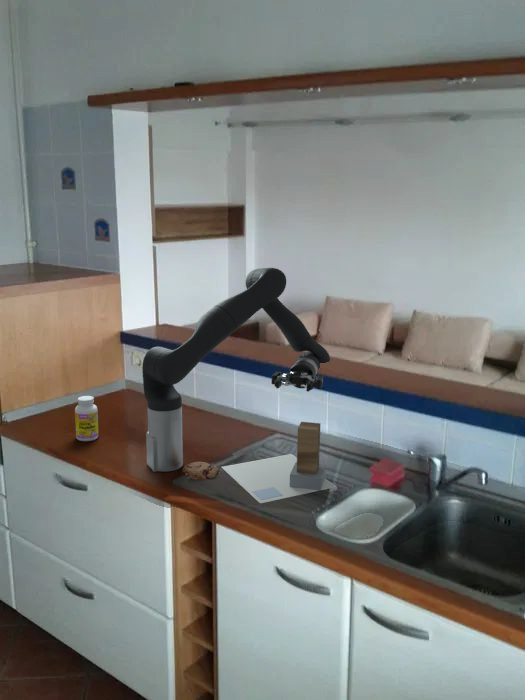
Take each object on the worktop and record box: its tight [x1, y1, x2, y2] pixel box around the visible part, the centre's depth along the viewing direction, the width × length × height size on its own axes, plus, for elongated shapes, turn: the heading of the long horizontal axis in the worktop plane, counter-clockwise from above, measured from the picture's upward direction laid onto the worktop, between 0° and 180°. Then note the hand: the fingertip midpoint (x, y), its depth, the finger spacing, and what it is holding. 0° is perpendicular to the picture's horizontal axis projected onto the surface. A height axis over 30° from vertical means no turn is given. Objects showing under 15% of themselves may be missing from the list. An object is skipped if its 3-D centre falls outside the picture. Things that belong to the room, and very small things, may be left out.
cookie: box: [182, 461, 220, 481], centre depth 181 cm, size 10×11×3 cm
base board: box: [221, 453, 338, 508], centre depth 178 cm, size 22×24×4 cm
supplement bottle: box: [74, 395, 99, 442], centre depth 205 cm, size 7×7×13 cm
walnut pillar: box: [296, 421, 321, 474], centre depth 173 cm, size 5×5×12 cm
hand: (292, 386), depth 185 cm, fingers open, 8 cm apart
